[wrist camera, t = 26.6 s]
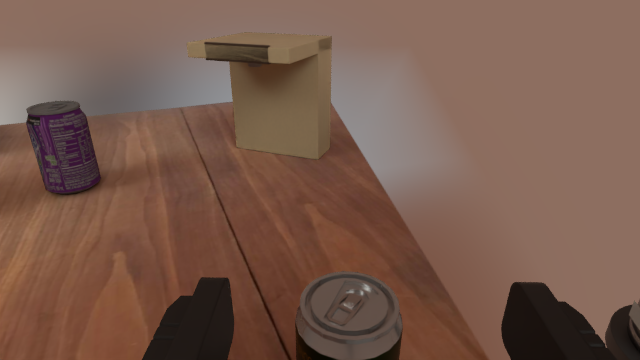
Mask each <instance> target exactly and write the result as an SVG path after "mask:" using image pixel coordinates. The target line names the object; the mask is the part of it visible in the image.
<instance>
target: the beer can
mask: <svg viewBox="0 0 640 360" xmlns="http://www.w3.org/2000/svg"><path fill="white" fill-rule="evenodd" d="M295 328H296V360H399V355H400V347H401V338H402V329H403V325H402V318H401V314H400V309H399V301H398V298H397V297H396V295H395V293H394V292H393V290H392V289H391V288H390V287H389V286H387V285H386V284H385V283H384V282H383V281H381V280H379V279H377V278H375V277H373V276H371V275H367V274H363V273H359V272H346V271H342V272H335V273H329V274H326V275H324V276H321V277H319V278H317V279H315V280H314V281H312V282H311V283H310V284H308V285H307V287H306V288H305V290H304V291H303V293H302V294H301V299H300V306H299V307H298V309H297V314H296V320H295Z"/></svg>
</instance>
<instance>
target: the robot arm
mask: <svg viewBox="0 0 640 360" xmlns="http://www.w3.org/2000/svg"><path fill="white" fill-rule="evenodd" d="M629 316H630V317H631V318H630V320H629V323H628V326H627V332H628V335H629V338H630V340H631V342H632V344H633V345H634V347H635V348H636V349H637V350H638V351H639V353H640V300H639V302H638V304H637V303H636V302H635V301H634V303H633V305H632V308H631V310H630V313H629ZM501 330H502V339H503V343H504V346H505V348H506V350H507V352H508V354H509V356H510V358H511V360H617V359H616V358H615V357H614V355H613V354H612V353H611V351H610V350H609V349H608V348H606V347H605V344H604V343H603V341H602V340H601V338H600V337H599V336H598V335H597V334H595V330H594V329H593V328H592V327H591V325H590V324H589V323H588V321H587V320H586V319H585V317H584V316H583V315H582V314H580V313H579V312H578V311H577V310H575V309H574V308H573V307H571V306H570V305H569V304H567V303H566V302H558V301H557V299H556V298H555V297H554V295H553V294H552V292H551V291H550V290H549V288H548V287H547V286H546V285H545V284H544V283H538V282H515V283H513V284H512V286H511V288H510V292H509V297H508V300H507V305H506V309H505V312H504V316H503V321H502V327H501ZM233 332H234V316H233V307H232V298H231V290H230V282H229V279H228V278H205V277H202V278H201V279H200V280H199V282H198V285H197V287H196V289H195V292H194V294H193V296H180V297H179V298H178V299H177V300H176V301H175V302H174V303H173V304H172V305H171V306H170V307H169V308H167V310H166V312H165V314H164V316H163V318H162V320H161V322H160V326H159V327H158V328H157V330H156V332H155V334H154V336H153V340H151V342H150V344H149V346H148V348H147V351H146V353H145V355H144V357H143V359H142V360H227V358H228V354H229V351H230V347H231V343H232V339H233Z"/></svg>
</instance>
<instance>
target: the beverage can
mask: <svg viewBox="0 0 640 360" xmlns="http://www.w3.org/2000/svg"><path fill="white" fill-rule="evenodd" d="M79 107H80V105H79V103H78V102H74V101H55V102H47V103H41V104H37V105H34V106H31V107H29V108H27V113H28V118H27V122H26V125H27V128H28V132H29V135H30V138H31V142H32V145H33V148H34V152H35V155H36V158H37V162H38V165H39V168H40V172H41V175H42V178H43V182H44V185H45V188H46V190H48V191H50V192H54V193H59V194H74V193H78V192H82V191H85V190H87V189H89V188H91V187H92V186H93V185H95V184H96V183H98V182H99V181H100V179H101V177H100V172H99V168H98V164H97V160H96V156H95V151H94V147H93V143H92V139H91V135H90V131H89V126H88V122H87V118H86V115H85V114H84V113H83V112H82V110H81V109H80V108H79Z"/></svg>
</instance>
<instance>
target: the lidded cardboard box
mask: <svg viewBox="0 0 640 360" xmlns="http://www.w3.org/2000/svg"><path fill="white" fill-rule="evenodd" d="M331 41H332V37H331V36H319V35H317V36H316V35H297V34H275V33H252V32H244V33H239V34H233V35H227V36H222V37H217V38H211V39H205V40H200V41H194V42H188V43H187V50H188V57H194V58H206V60H215V61H229V62H230V75H231V87H232V97H233V98H232V99H233V110H234V122H235V134H236V146H237V148H242V149H249V150H255V151H262V152H269V153H275V154H282V155H289V156H296V157H302V158H309V159H316V160H318V159H319V158H320V157H322V156H323V155H324V154H325V153H326V152H327V151H328V150H329V149H330V110H331V43H332V42H331Z"/></svg>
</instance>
